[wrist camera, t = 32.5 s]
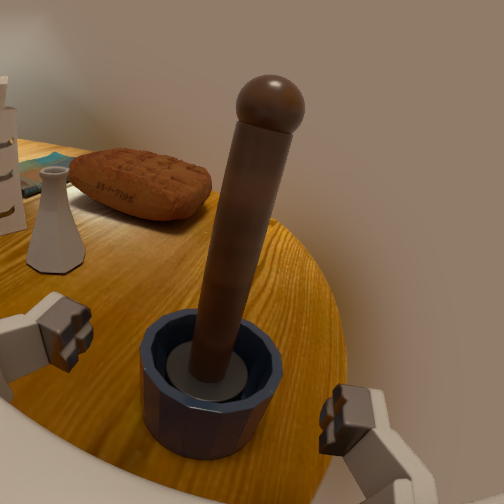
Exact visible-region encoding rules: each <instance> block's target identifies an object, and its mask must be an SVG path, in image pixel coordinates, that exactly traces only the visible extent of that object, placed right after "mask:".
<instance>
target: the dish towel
mask: <svg viewBox="0 0 504 504" xmlns="http://www.w3.org/2000/svg"><path fill="white" fill-rule="evenodd" d="M74 158H76V157H68V156H65V155H62V154H59V153H57V152H53V153H52V154H50V155H48V156H45V157H42V158H38V159H33V160H27V161H23V162H20V163H19V174H20V184H21V192H22V196H23V197H28V196H30V195H33V194H35V193H38V192H41V191H42V178H41V177H40V176H39V172H40V171H41V170H42V169H43V168H47V167H51V166H58V167H65V168H69V164H70V162H71V161H72V160H73V159H74ZM11 172H12V170H11ZM12 175H13V173H12ZM66 181H69V178H68V175H67V178H66Z"/></svg>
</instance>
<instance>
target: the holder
mask: <svg viewBox="0 0 504 504" xmlns="http://www.w3.org/2000/svg"><path fill="white" fill-rule="evenodd" d="M197 310H198V309H182V310H179V311H176V312H173V313H170V314H167V315H164V316H162V317H161V318H159V319H158V320H157V321H156V322H155V323H153V324H152V325H151V326H150V327H148V329H147V330H146V333H145V335H144V338H143V340H142V343H141V345H140V388H141V404H142V410H143V417H144V420H145V423H146V425H147V427H148V429H149V431H150V432H151V434H152V435H153V436H154V437H155V438H156V440H157V441H159V442H160V443H161V444H162V445H163V446H165V447H166V448H168V449H169V450H171V451H173V452H175V453H177V454H179V455H182V456H185V457H188V458H193V459H200V460H211V459H219V458H223V457H226V456H229V455H231V454H233V453H235V452H237V451H238V450H240V449H241V448H242V447H244V446H245V445H246V444H247V442H248V441H249V440H250V439H251V437H252V435H253V434H254V432H255V430H256V428H257V426H258V424H259V422H260V420H261V418H262V417H263V415H264V413H265V411H266V409H267V407H268V405H269V403H270V401H271V399H272V397H273V395H274V393H275V391H276V389H277V387H278V385H279V383H280V380H281V378H282V376H283V370H282V360H281V354H280V352H279V351H278V349H277V348H276V346H275V344H274V343H273V341H272V340H271V338H270V337H269V336H268V335H267V334H265V333H264V332H263V331H262V330H260V329H259V328H258V327H257V326H256V325H254V324H253V323H251V322H249V321H247V320H245V319H243V318H242V320H241V324H240V327H239V331H238V334H237V337H236V341H235V344H234V348H233V351H234V352H236V353H237V354H238V355H239V356H240V357H241V358H242V360H243V361H244V363H245V365H246V367H247V371H248V381H247V384H246V387H245V390H244V392H243V395H242V398H241V400H240V401H234V402H228V403H221V404H220V403H214V402H208V401H203V400H198V399H193V398H191V397H189V396H188V395H186V394H184V393H182V392H180V391H179V390H177V389H175V388H174V387H172V386H170V385H169V384H168V383H167V382H166V381H165V366H166V360H167V357H168V356H169V354H170V353H171V351H172V350H173V349H174V348H176V347H177V346H179V345H180V344H183V343H185V342H189V341H192V340H193V334H194V328H195V322H196V316H197Z"/></svg>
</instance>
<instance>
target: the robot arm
mask: <svg viewBox="0 0 504 504" xmlns="http://www.w3.org/2000/svg"><path fill="white" fill-rule="evenodd" d="M91 317H92V316H91V309H90V308H88V307H87V306H85V305H83V304H80V303H78V302H76V301H74V300H72V299H70V298H68V297H66V296H63V295H61V294H59V293H58V292H56V291H55V292H51V293H50V294H49V295H47V296H46V297H45V298H44V299H43V300H41V301H40V302H39V303H38V304H37V305H36V306H35V307H33V308H32V309H31V310H30V311H29V312H28V313H27V314H25V315H23V314H18V315H15V316H11V317H7V318H3V319H0V504H226V503H222V502H218V501H213V500H210V499H206V498H202V497H198V496H195V495H191V494H188V493H185V492H181V491H178V490H175V489H172V488H169V487H166V486H163V485H160V484H157V483H155V482H152V481H149V480H147V479H144V478H142V477H139V476H137V475H134V474H132V473H129V472H127V471H125V470H122V469H120V468H118V467H116V466H113V465H111V464H109V463H107V462H105V461H103V460H101V459H99V458H97V457H95V456H93V455H91V454H89V453H87V452H85V451H83V450H81V449H79V448H77V447H76V446H74V445H72V444H70V443H68V442H67V441H65V440H63V439H62V438H60V437H58V436H57V435H55V434H53V433H52V432H50V431H48V430H47V429H45V428H44V427H42V426H41V425H39V424H38V423H36V422H35V421H33V420H32V419H30V418H29V417H27V416H26V415H24V414H23V413H22V412H20V411H19V410H18V409H16V408H15V407H13V406H12V405H11V404H9V402H10V401H11V400H12V398H13V392H12V391H11V389H10V387H9V385H8V383H10V382H12V381H14V380H16V379H18V378H21V377H23V376H25V375H27V374H29V373H32V372H34V371H36V370H38V369H40V368H42V367H45V366H47V365H49V363H50V364H52V365H54V366H56V367H58V368H60V369H61V370H63V371H65V372H67V373H69V372H70V371H71V369H72V368H73V367H74V366H75V364H76V363H77V362H78V361H79V360H78V354H81V353H84V352H86V350H87V349H88V348H89V347H90V344H91V342H92V339H93V327H92V325H91V324H90V322H89V319H90V318H91ZM319 426H320V427H321V429H322V430H323V432H322V434H321V435H320V436H319V453H320V454H326V455H334V456H342V457H343V459H344V461H345V463H346V464H347V466H348V468H349V470H350V471H351V473H352V475H353V476H354V478H355V480H356V482H357V484H358V485H359V487H360V488H361V490H362V492H363V494H364V496H365V497H366V500H365V501H363V502H361V503H360V504H439V500H438V494H437V488H436V482H435V477H434V475H433V474H432V473H431V472H430V470H429V469H428V468H427V467H426V466H425V465H424V464H423V462H422V461H421V460H420V459H419V458H418V457H417V455H416V454H415V453H414V452H413V451H412V450H411V449H410V447H409V446H408V445H407V444H406V443H405V442H404V441H403V439H402V438H401V437H400V436H399V435H398V433H397V432H396V431H395V430H391V428H390V424H389V417H388V412H387V407H386V402H385V398H384V393H383V392H382V390H377V389H370V388H364V387H357V386H351V385H345V384H340V383H339V384H338V385H336V386H335V388H334V389H333V397H331V398H328V399H327V400H326V401H325V403H324V405H323V407H322V410H321V413H320V418H319ZM464 504H504V492H503V493H500V494H497V495H493V496H490V497H487V498H484V499H480V500H476V501H472V502H468V503H464Z"/></svg>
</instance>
